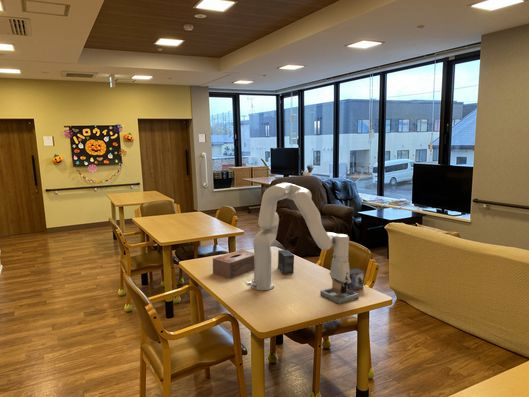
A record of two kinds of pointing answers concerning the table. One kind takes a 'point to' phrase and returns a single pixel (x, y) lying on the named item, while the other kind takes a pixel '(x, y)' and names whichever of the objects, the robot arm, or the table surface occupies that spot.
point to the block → (337, 287)
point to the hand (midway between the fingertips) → (339, 290)
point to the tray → (339, 298)
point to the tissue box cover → (233, 264)
